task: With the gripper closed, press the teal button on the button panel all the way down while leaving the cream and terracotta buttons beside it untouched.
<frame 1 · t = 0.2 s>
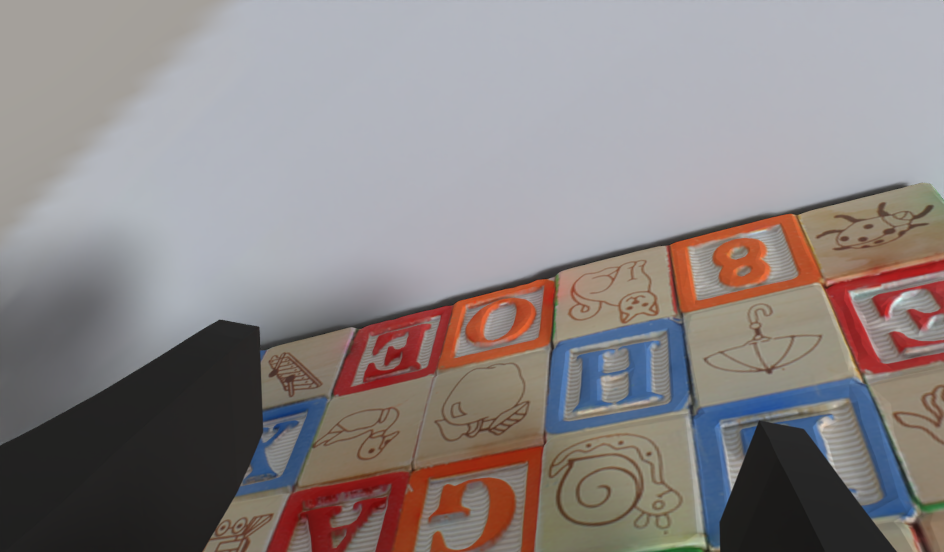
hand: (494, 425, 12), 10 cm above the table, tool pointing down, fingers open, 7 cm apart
stack of blocks: (542, 362, 23), on the table
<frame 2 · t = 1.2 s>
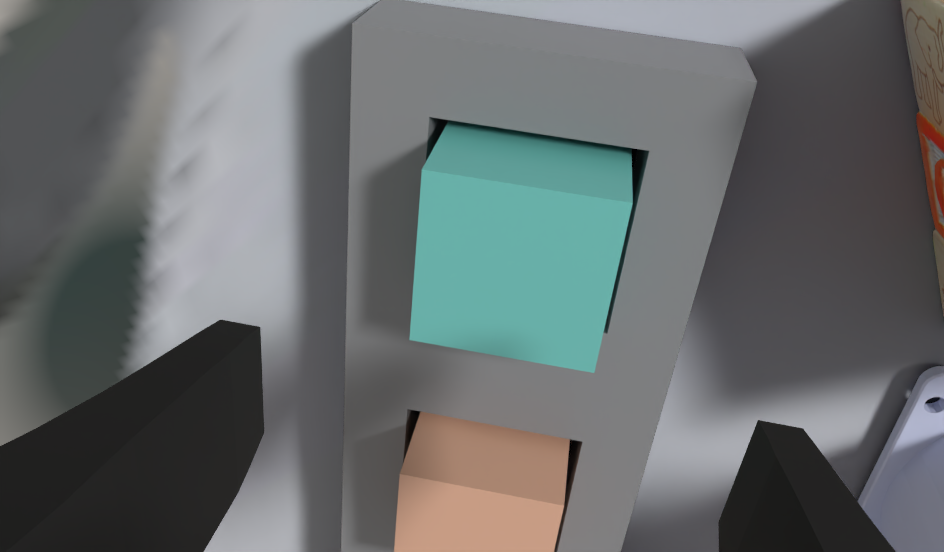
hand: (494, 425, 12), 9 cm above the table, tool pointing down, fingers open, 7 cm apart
teal button: (522, 236, 18), point 3 cm above the table, slide at 0.0 cm
button panel: (496, 428, 24), on the table
terracotta button: (483, 495, 22), point 3 cm above the table, slide at 0.0 cm
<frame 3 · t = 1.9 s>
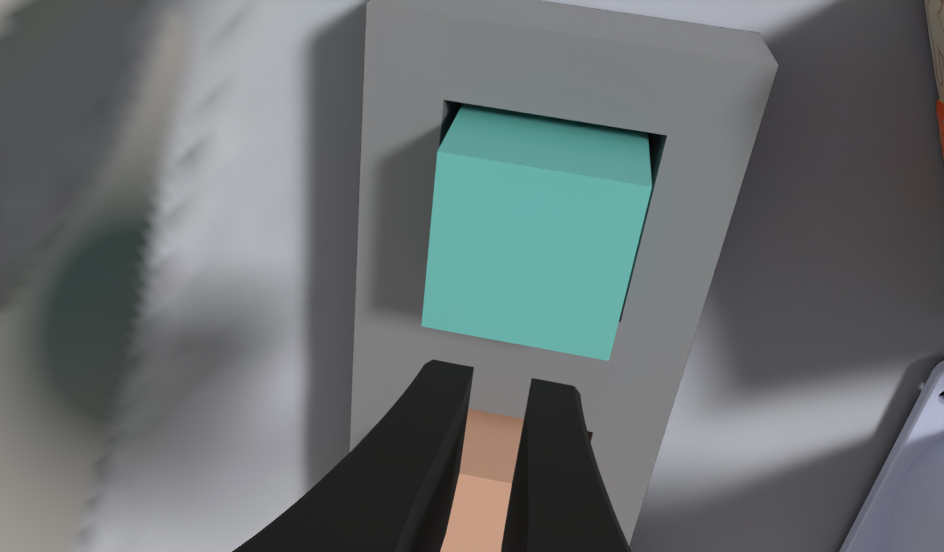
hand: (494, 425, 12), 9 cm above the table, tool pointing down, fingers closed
teal button: (536, 222, 17), point 3 cm above the table, slide at 0.0 cm
button panel: (504, 419, 24), on the table
terracotta button: (491, 486, 21), point 3 cm above the table, slide at 0.0 cm
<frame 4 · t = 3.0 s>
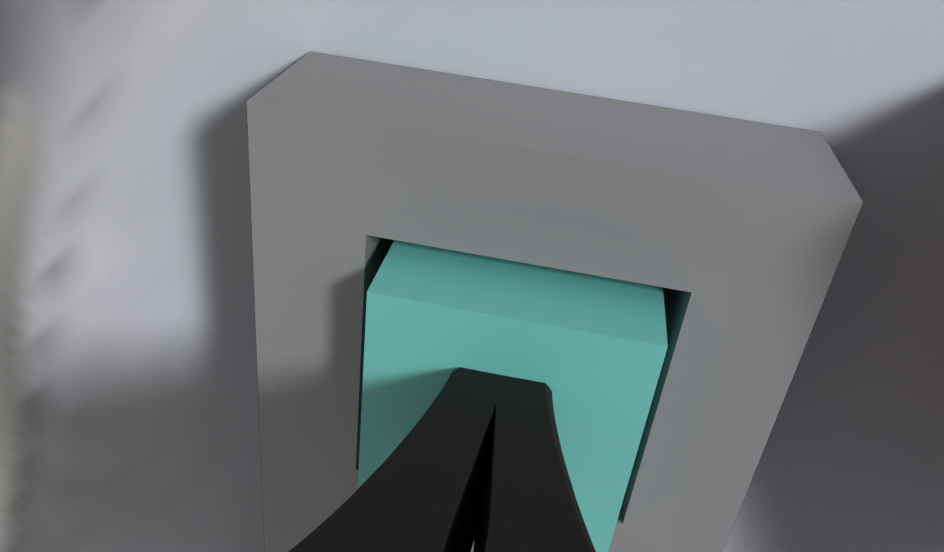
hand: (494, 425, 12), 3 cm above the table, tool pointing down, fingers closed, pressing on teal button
teal button: (510, 361, 13), point 2 cm above the table, slide at 1.0 cm, touching gripper
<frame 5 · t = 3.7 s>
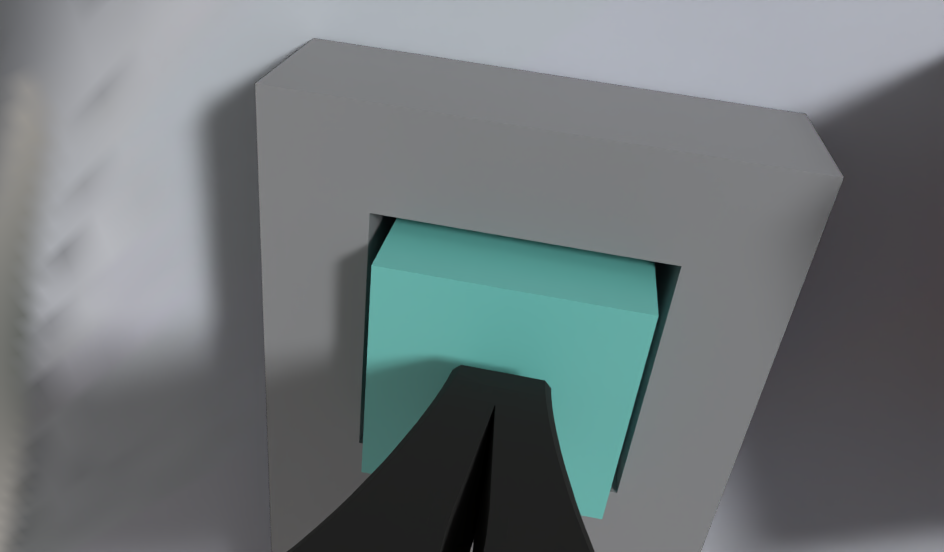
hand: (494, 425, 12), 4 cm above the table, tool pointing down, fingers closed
teal button: (508, 335, 14), point 2 cm above the table, slide at 1.1 cm
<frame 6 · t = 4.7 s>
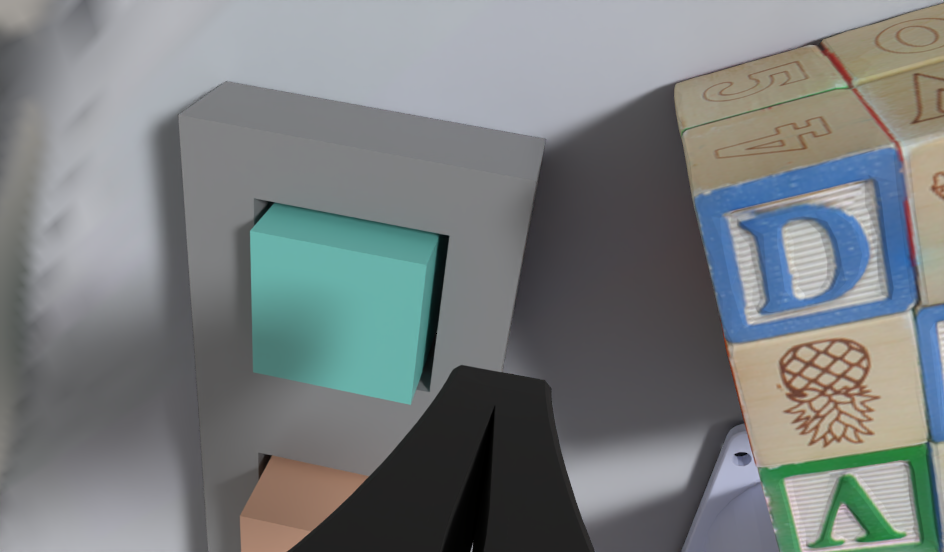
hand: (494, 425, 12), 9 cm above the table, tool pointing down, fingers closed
teal button: (355, 283, 20), point 2 cm above the table, slide at 1.1 cm
button panel: (357, 465, 26), on the table
terracotta button: (331, 531, 23), point 3 cm above the table, slide at 0.0 cm
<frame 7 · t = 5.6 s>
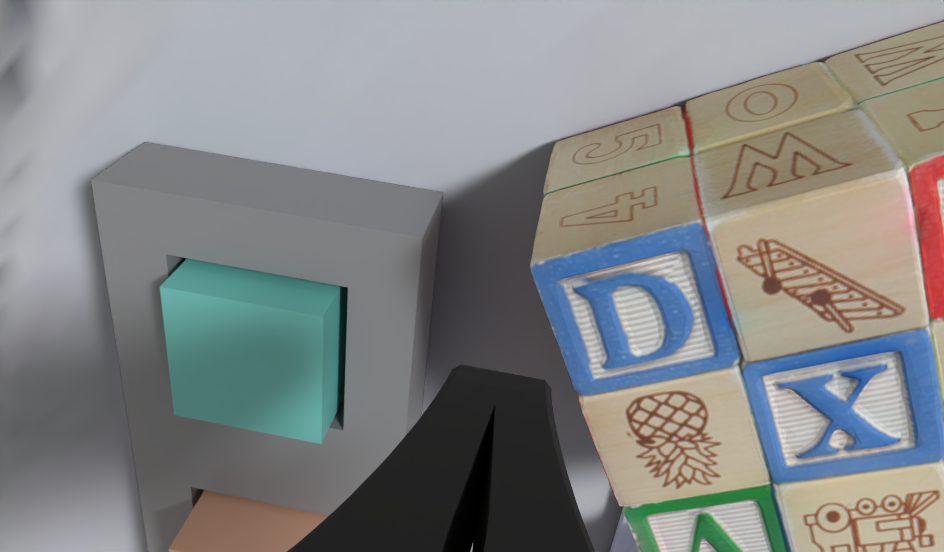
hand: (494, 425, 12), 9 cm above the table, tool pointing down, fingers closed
teal button: (270, 329, 21), point 2 cm above the table, slide at 1.1 cm
button panel: (295, 495, 27), on the table
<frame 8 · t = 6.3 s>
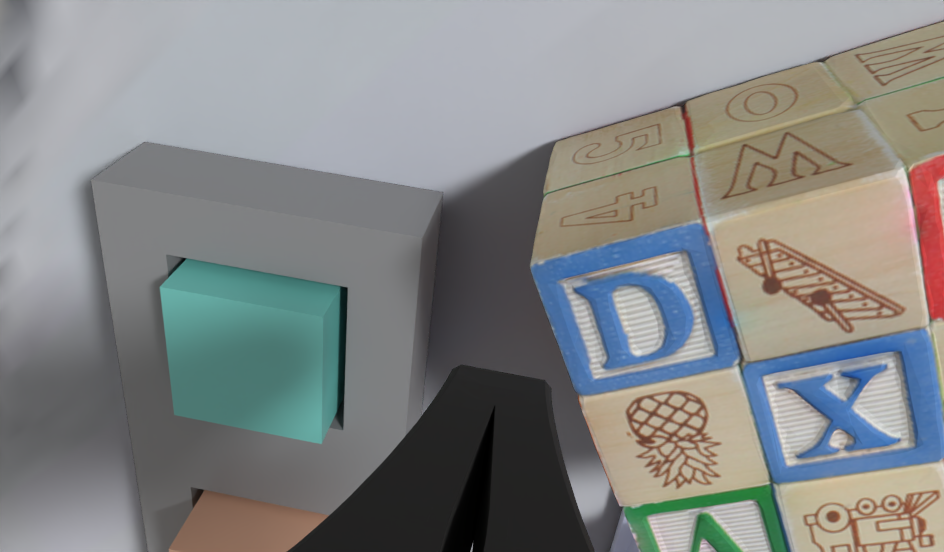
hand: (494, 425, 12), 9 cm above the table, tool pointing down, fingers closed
teal button: (270, 329, 21), point 2 cm above the table, slide at 1.1 cm
button panel: (295, 495, 27), on the table
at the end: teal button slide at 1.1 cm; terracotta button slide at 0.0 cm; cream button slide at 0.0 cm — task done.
